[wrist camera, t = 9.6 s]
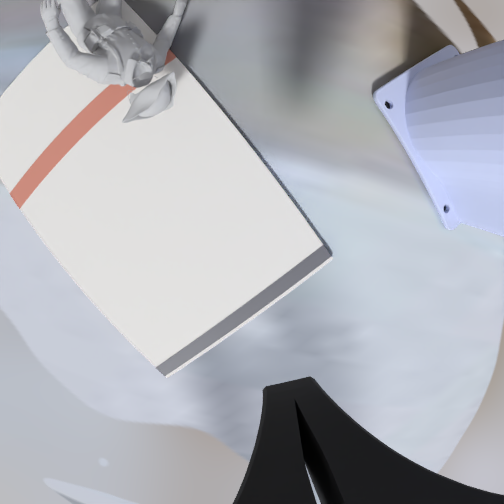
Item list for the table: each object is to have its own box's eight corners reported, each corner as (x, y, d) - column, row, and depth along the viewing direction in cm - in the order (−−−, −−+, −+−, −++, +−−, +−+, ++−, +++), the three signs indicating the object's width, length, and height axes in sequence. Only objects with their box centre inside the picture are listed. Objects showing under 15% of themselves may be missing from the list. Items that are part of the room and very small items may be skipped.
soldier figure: (138, -46, 12) (265, 34, 11) (115, 14, 16) (217, 111, 15) (20, -40, 7) (92, 37, 6) (8, 32, 11) (71, 156, 10)
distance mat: (332, 257, 17) (333, 259, 17) (167, 376, 18) (167, 378, 18) (114, -10, 12) (113, -11, 12) (-24, 132, 13) (-26, 132, 13)
